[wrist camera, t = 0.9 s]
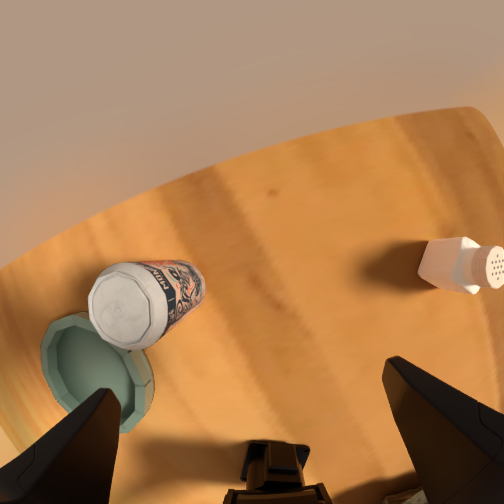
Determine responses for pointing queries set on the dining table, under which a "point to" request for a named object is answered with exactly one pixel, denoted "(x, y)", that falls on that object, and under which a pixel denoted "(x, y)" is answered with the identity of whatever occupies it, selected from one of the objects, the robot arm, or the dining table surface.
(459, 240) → the pepper shaker
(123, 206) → the dining table surface
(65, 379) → the bowl
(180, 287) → the beer can
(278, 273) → the dining table surface
